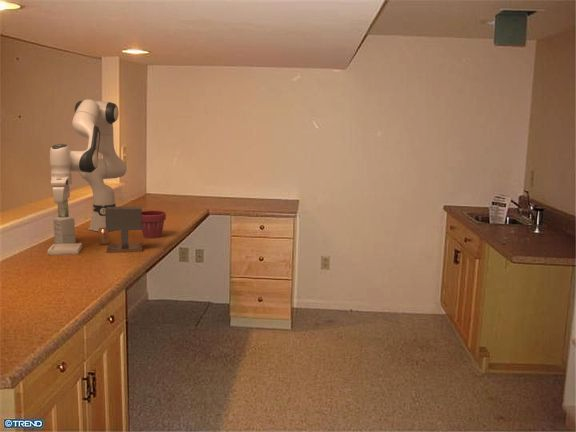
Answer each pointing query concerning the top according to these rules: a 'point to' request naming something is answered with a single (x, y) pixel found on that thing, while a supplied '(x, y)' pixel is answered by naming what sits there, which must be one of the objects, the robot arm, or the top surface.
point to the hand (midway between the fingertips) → (63, 210)
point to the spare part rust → (103, 236)
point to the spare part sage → (64, 213)
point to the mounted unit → (124, 226)
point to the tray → (65, 249)
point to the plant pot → (153, 223)
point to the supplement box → (64, 230)
